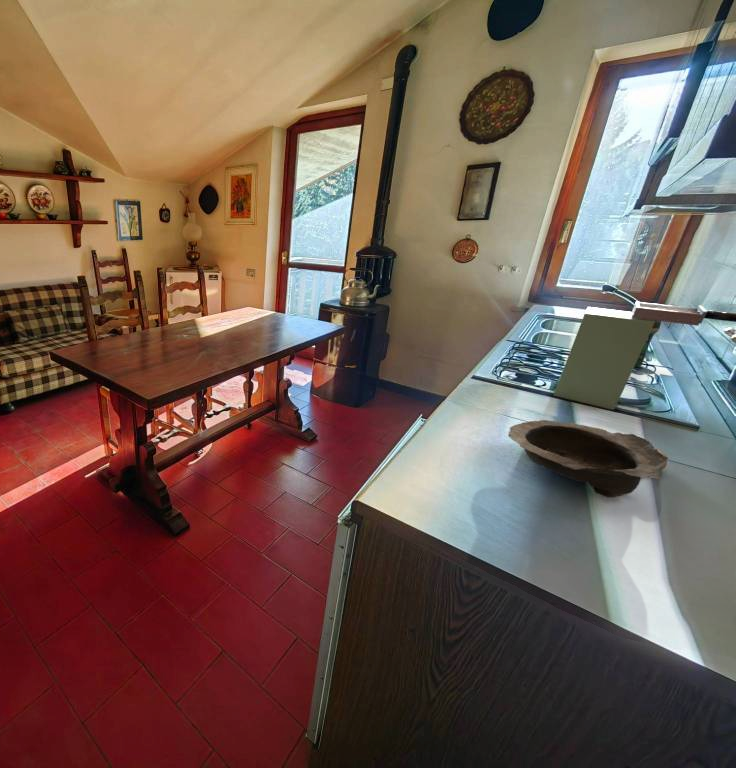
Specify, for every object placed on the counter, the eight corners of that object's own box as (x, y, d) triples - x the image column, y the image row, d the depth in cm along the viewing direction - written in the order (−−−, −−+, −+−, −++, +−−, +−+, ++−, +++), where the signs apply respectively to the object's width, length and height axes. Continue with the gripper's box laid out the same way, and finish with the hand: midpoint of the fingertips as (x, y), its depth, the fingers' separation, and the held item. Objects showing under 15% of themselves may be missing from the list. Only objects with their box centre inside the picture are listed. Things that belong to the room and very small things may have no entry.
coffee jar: (607, 363, 148) (627, 315, 141) (606, 357, 154) (626, 311, 146) (642, 369, 143) (666, 319, 135) (640, 363, 148) (662, 315, 141)
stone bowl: (684, 522, 70) (705, 480, 67) (519, 498, 79) (530, 459, 75) (614, 449, 91) (627, 415, 88) (490, 437, 100) (497, 404, 97)
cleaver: (761, 326, 97) (769, 312, 95) (770, 334, 90) (779, 319, 89) (631, 311, 112) (637, 298, 110) (632, 317, 105) (637, 304, 103)
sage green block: (614, 397, 120) (652, 314, 110) (614, 410, 112) (654, 322, 102) (557, 384, 129) (587, 306, 118) (553, 395, 121) (584, 313, 110)
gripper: (782, 387, 95) (722, 349, 100) (762, 366, 109) (710, 334, 114) (818, 370, 91) (753, 331, 96) (792, 350, 105) (737, 317, 110)
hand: (730, 333), depth 105 cm, fingers open, 8 cm apart
